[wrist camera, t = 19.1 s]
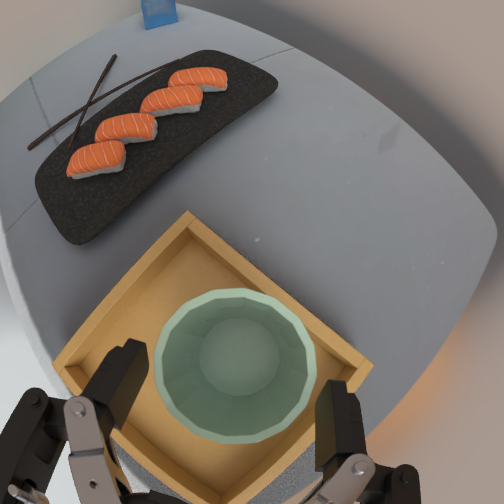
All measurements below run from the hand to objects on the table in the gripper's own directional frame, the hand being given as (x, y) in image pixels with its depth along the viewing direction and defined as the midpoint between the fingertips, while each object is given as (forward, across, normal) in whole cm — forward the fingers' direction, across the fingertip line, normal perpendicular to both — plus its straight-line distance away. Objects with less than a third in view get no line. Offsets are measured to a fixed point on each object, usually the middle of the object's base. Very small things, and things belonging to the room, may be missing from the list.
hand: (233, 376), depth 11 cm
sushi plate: (+24, +21, -11) cm, 34 cm away
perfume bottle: (+44, +28, -31) cm, 61 cm away
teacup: (+7, 0, +6) cm, 9 cm away
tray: (+6, +2, +8) cm, 10 cm away
